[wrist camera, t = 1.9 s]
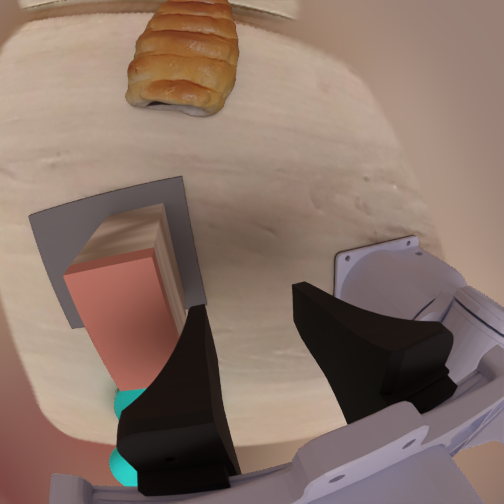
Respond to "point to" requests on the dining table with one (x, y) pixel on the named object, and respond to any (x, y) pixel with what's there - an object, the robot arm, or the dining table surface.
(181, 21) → the pastry
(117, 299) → the block
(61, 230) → the mat
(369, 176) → the dining table surface
